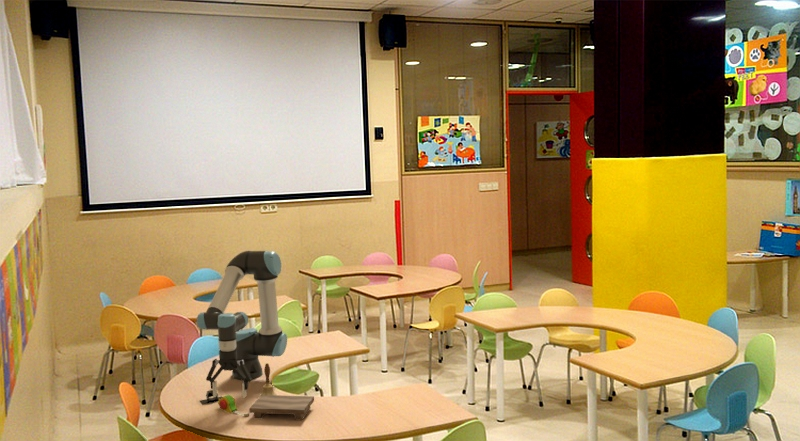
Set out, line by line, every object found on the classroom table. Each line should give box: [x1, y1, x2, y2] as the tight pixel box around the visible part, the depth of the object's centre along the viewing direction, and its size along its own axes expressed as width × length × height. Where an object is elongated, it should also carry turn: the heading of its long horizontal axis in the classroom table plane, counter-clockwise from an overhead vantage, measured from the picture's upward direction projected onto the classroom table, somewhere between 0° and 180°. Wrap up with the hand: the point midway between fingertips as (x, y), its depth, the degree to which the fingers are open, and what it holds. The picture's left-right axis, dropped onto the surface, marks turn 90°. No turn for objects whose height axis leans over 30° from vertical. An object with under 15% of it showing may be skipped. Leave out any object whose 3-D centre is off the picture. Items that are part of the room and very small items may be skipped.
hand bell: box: [258, 363, 277, 398], centre depth 330 cm, size 8×8×16 cm
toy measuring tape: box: [217, 394, 250, 418], centre depth 313 cm, size 6×20×7 cm, turn 51°
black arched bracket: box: [199, 389, 223, 406], centre depth 328 cm, size 13×8×5 cm, turn 119°
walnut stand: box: [248, 394, 315, 421], centre depth 310 cm, size 16×24×5 cm, turn 82°
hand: (229, 396), depth 314 cm, fingers open, 13 cm apart
